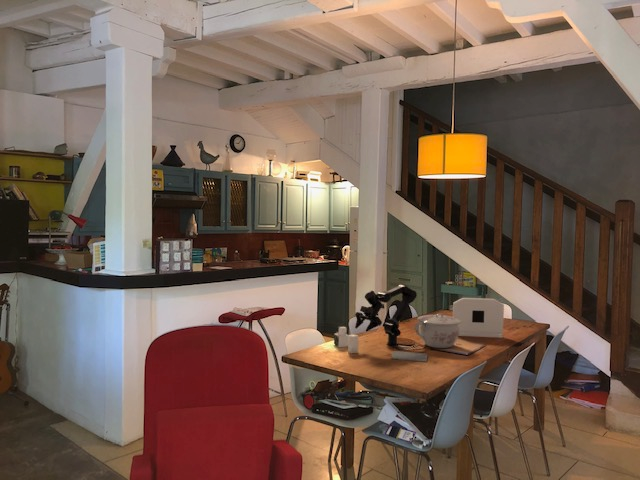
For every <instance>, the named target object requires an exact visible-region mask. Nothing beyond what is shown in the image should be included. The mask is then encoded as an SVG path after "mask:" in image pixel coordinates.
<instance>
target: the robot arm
mask: <svg viewBox="0 0 640 480" xmlns="http://www.w3.org/2000/svg"><path fill="white" fill-rule="evenodd" d="M400 294H401V299H402V300H401V301H400V303H399V305H398V306H397V309H396V310H395V312H394V314H393V316H392V317H391V318H387V319H386V321H385V323H384V325H383V330H384V333H385V335H386V334H387V342H386V345H387V346H398V345H397V342H398V337H399V336H401V334H402V332H401V330H400V329H399V328H400V323H399V322H400V321H401V318H402V317H403V315H404V313H405V312H406V311H407V308H408V307H409V305H410V304H411V303H413V302H414V301H415V300H416V298H417V296H418V294H417V291H416V290H413V289H411V288H410V287H408V286H407V285H406V284H404V285H403V284H399V285H398V286H396V287H393V288H392V289H389V290H387V291H379V292H377V294H376V293H375V290H370V291H369V292H367V293H366V294H365V295H364V299H365V300H366V301H367V302H368V304H369V305H370V306H368V307H367V306H365V305H364V306H363V305H361V306H360V309H359V311H357V312H355V314H354V316H355V318H356V322H355V326H354V328H355V329H358V328H359V327H360V326H361V325H363V324H364V321H365V320H367V321H369V324H368V325H367V326H366V329H365V332H369V331H371V330H373V329H375V328H377V327H381V326H382V324H383V323H382V319H381V318H380V317H379V315H380V314H379V312H380V310H381V309H385V304H384V303H388V302H389V301H391V299H392V298H393V297H396V296H398V295H400Z"/></svg>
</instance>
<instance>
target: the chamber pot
mask: <svg viewBox="0 0 640 480" xmlns="http://www.w3.org/2000/svg"><path fill="white" fill-rule="evenodd" d="M416 319H417V322H416V323H415V325H414V332H415V334H416V335H417V336H418V337H419V338H420V339H421V340H422V341H423V343H424V345H426V346H428V347H431V348H434V349H448V348H451V347H452V346H454V345H455V343H456V342H457V340H458V339H459V336H458V335H459V327H458V324H460V323H461V322H462V321H461V320H460V319H458V318H455V317H453V316H452V315H451V316H450V315H444V314H443V313H442V312H439V313H436V314H425V315H421V316H418V317H417V318H416Z"/></svg>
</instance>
